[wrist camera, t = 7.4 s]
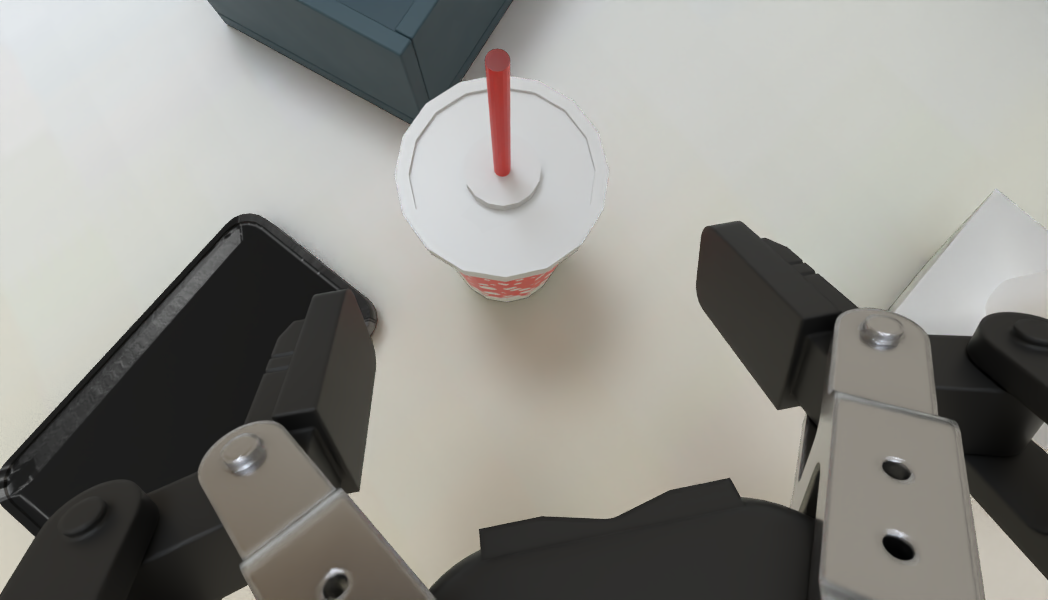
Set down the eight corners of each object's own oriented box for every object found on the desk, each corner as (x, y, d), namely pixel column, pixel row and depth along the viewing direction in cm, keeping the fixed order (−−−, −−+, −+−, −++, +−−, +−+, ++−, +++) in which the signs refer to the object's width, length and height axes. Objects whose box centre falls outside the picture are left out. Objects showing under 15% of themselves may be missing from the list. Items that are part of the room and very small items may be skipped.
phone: (-19, 487, 20) (245, 202, 22) (9, 482, 21) (258, 211, 23) (126, 620, 19) (383, 312, 21) (147, 607, 20) (389, 316, 22)
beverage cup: (599, 250, 23) (726, 57, 9) (508, 346, 22) (503, 288, 9) (503, 164, 24) (492, -136, 10) (411, 255, 23) (261, 63, 9)
